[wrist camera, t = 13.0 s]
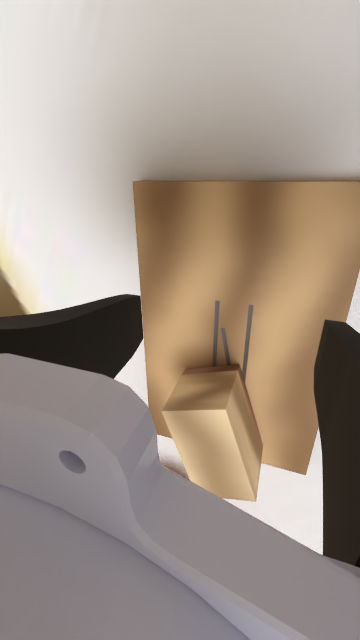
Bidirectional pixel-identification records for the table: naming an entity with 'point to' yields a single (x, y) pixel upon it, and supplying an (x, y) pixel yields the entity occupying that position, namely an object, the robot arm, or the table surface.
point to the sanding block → (216, 431)
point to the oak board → (246, 292)
